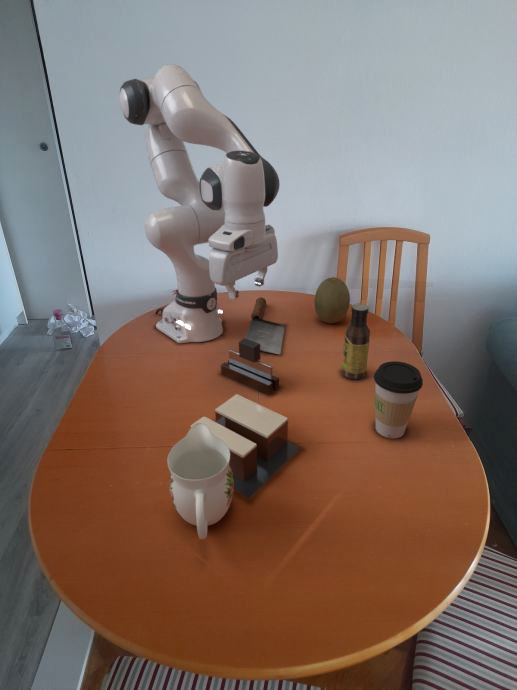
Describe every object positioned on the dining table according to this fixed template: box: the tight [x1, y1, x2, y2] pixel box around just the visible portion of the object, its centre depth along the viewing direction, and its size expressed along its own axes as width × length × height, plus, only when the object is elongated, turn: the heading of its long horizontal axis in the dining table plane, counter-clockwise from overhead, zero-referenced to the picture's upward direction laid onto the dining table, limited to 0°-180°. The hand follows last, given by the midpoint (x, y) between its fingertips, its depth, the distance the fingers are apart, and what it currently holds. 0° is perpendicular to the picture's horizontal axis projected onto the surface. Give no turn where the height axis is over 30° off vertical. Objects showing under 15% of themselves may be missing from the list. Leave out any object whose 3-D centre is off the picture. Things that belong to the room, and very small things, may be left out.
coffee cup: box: [373, 360, 424, 439], centre depth 95 cm, size 10×10×15 cm
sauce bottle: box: [341, 302, 371, 380], centre depth 113 cm, size 6×6×20 cm
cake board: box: [214, 393, 301, 499], centre depth 91 cm, size 20×17×7 cm
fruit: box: [313, 277, 351, 325], centre depth 142 cm, size 11×11×15 cm
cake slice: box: [189, 416, 257, 481], centre depth 89 cm, size 14×4×7 cm, turn 52°
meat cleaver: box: [245, 296, 286, 355], centre depth 142 cm, size 34×11×4 cm, turn 173°
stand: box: [220, 359, 280, 396], centre depth 116 cm, size 16×4×3 cm, turn 52°
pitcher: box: [166, 423, 235, 540], centre depth 76 cm, size 11×18×14 cm, turn 6°
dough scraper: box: [228, 338, 273, 382], centre depth 113 cm, size 14×2×11 cm, turn 52°
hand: (246, 291), depth 104 cm, fingers open, 8 cm apart
